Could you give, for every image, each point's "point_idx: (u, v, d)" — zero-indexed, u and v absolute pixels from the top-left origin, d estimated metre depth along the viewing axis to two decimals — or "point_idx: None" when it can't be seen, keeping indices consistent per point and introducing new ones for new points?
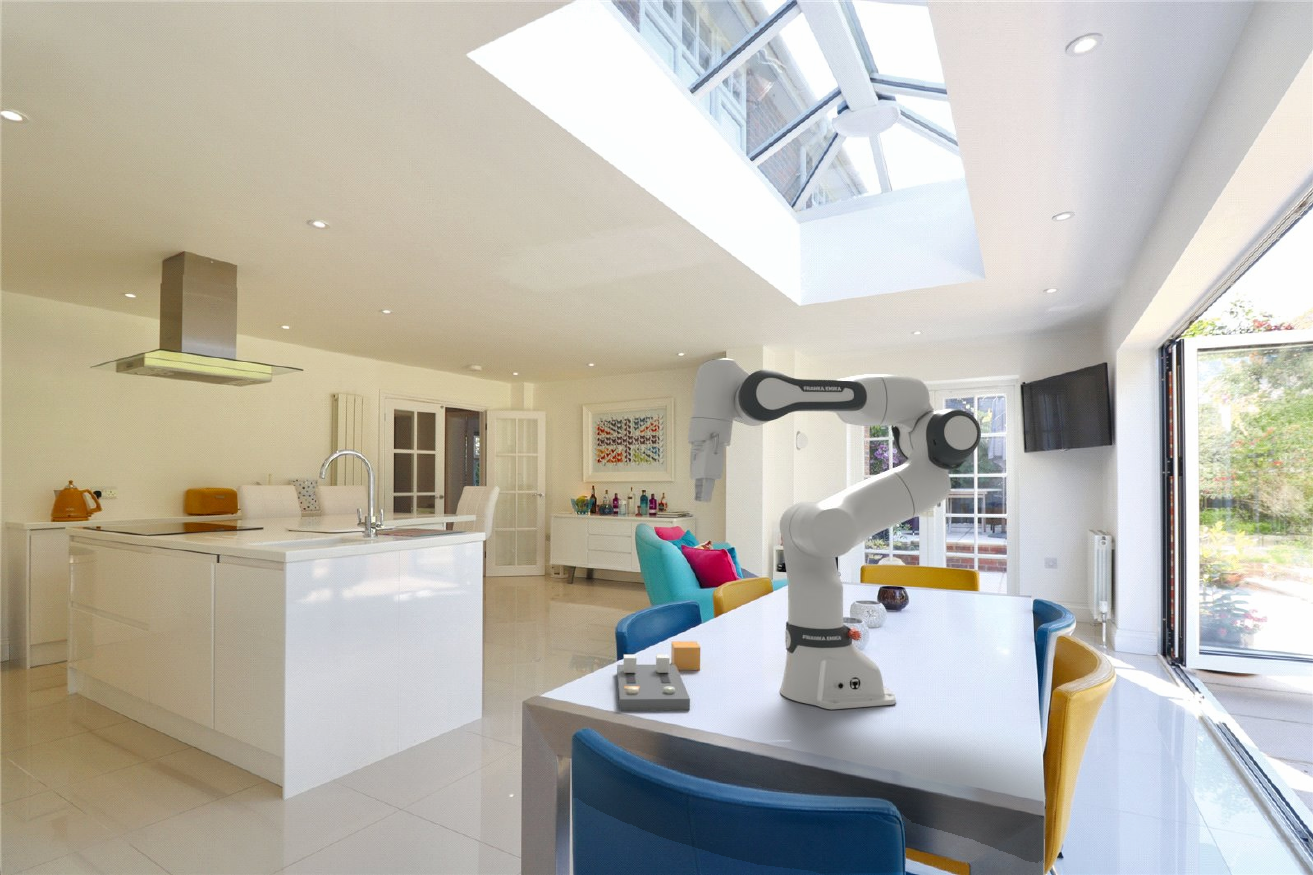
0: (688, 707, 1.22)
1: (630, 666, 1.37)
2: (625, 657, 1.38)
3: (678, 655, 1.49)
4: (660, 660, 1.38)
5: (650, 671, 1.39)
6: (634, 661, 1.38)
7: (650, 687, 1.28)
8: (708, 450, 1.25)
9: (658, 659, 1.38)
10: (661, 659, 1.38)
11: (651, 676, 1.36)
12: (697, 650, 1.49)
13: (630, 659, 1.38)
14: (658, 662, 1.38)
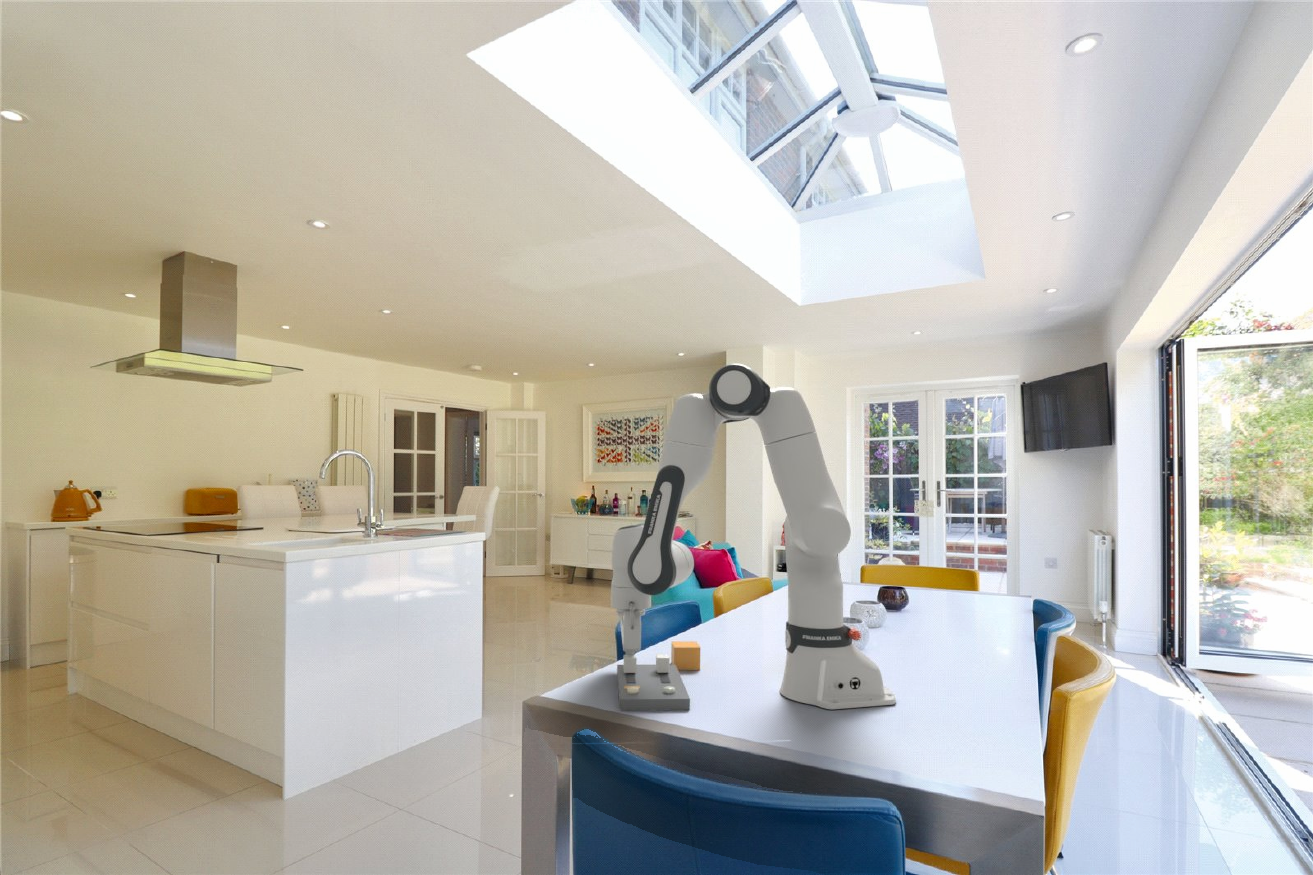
0: (688, 707, 1.22)
1: (630, 666, 1.37)
2: (625, 657, 1.38)
3: (678, 655, 1.49)
4: (660, 660, 1.38)
5: (650, 671, 1.39)
6: (634, 661, 1.37)
7: (650, 687, 1.28)
8: (625, 626, 1.33)
9: (658, 659, 1.38)
10: (661, 659, 1.38)
11: (651, 676, 1.36)
12: (697, 650, 1.49)
13: (630, 659, 1.37)
14: (658, 662, 1.38)
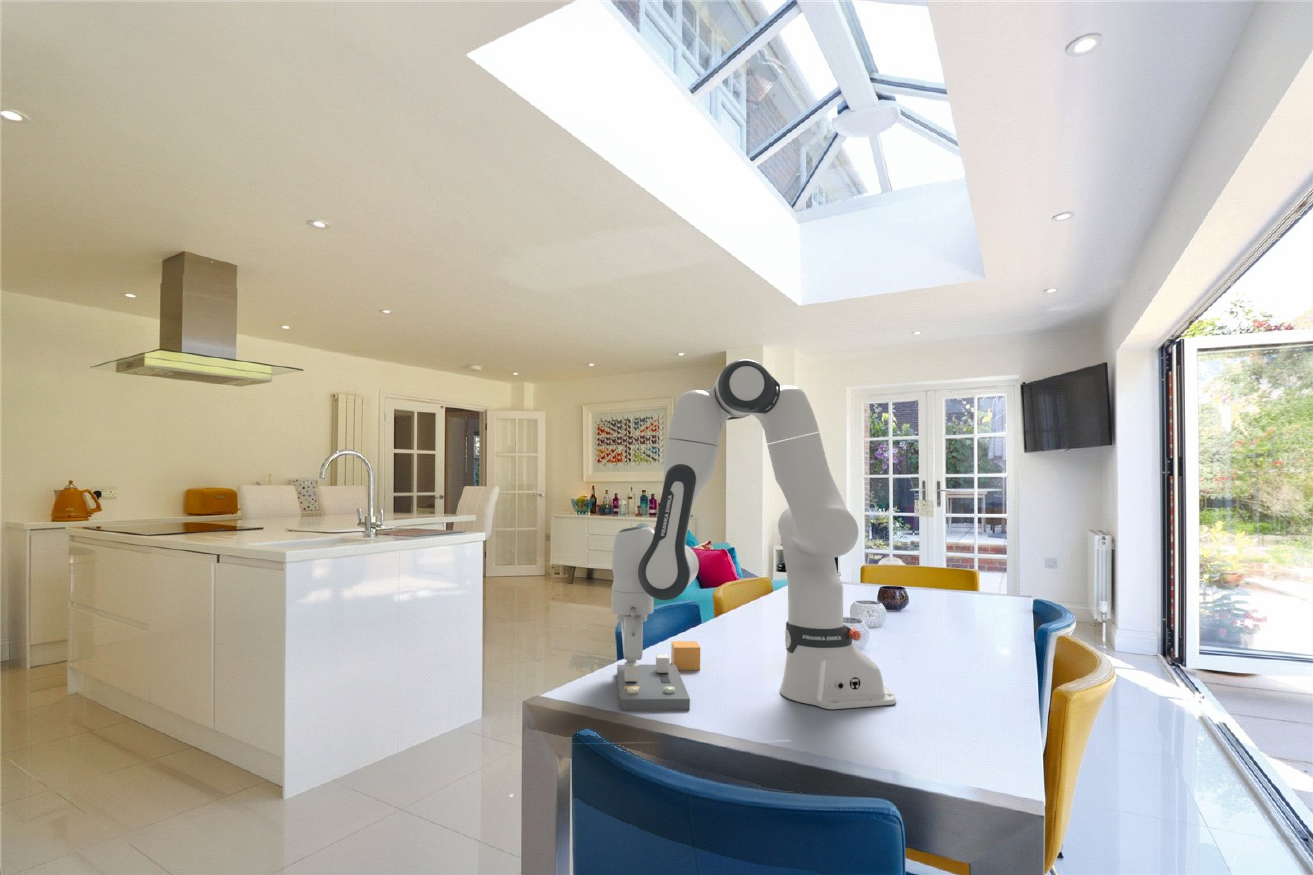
0: (688, 707, 1.22)
1: (632, 675, 1.31)
2: (626, 665, 1.32)
3: (678, 655, 1.49)
4: (660, 660, 1.38)
5: (650, 671, 1.39)
6: (636, 669, 1.31)
7: (650, 687, 1.28)
8: (626, 633, 1.27)
9: (658, 659, 1.38)
10: (661, 659, 1.38)
11: (651, 676, 1.36)
12: (697, 650, 1.49)
13: (631, 667, 1.31)
14: (658, 662, 1.38)
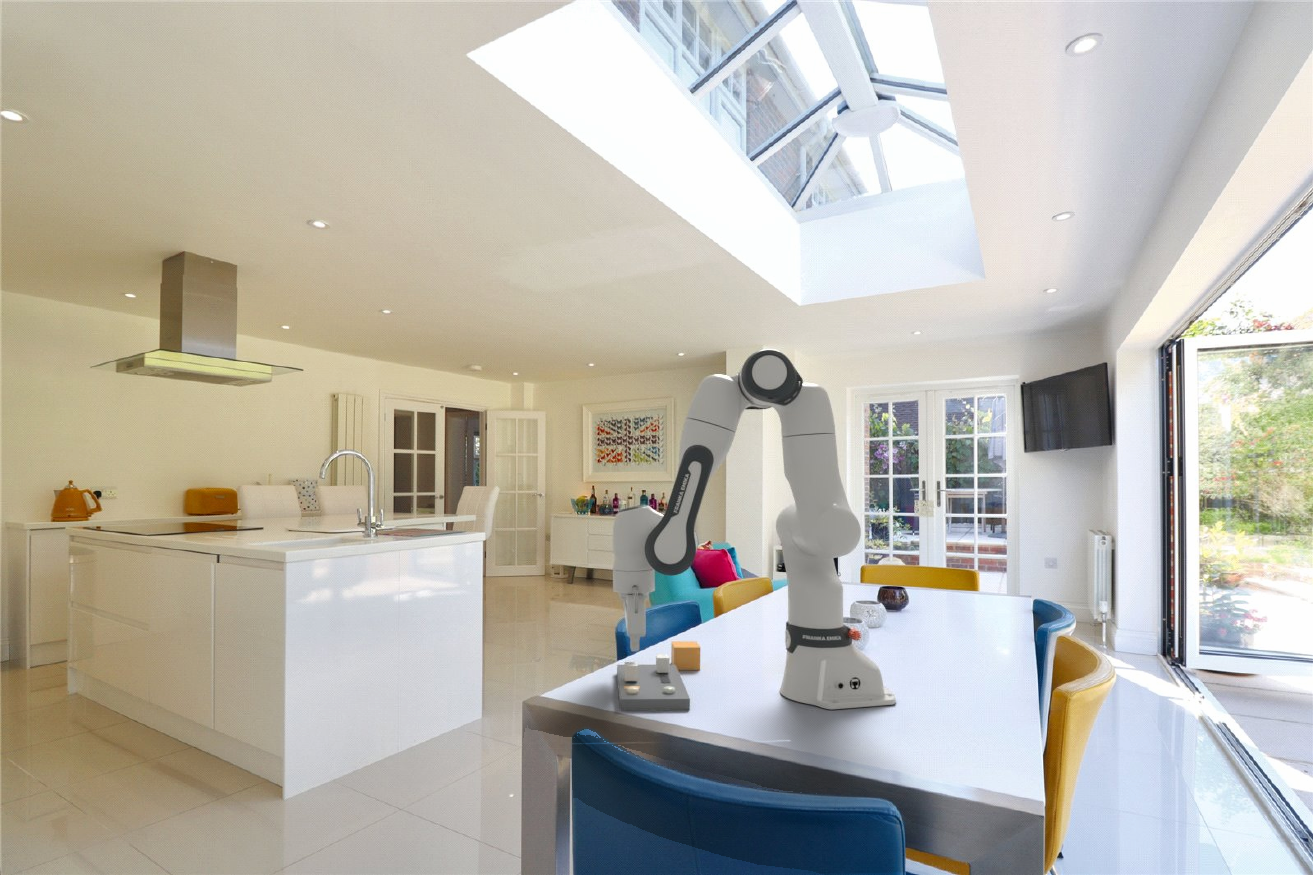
0: (688, 707, 1.22)
1: (632, 675, 1.31)
2: (626, 665, 1.32)
3: (678, 655, 1.49)
4: (660, 660, 1.38)
5: (650, 671, 1.39)
6: (635, 669, 1.32)
7: (650, 687, 1.28)
8: (628, 610, 1.28)
9: (658, 659, 1.38)
10: (661, 659, 1.38)
11: (651, 676, 1.36)
12: (697, 650, 1.49)
13: (631, 667, 1.31)
14: (658, 662, 1.38)
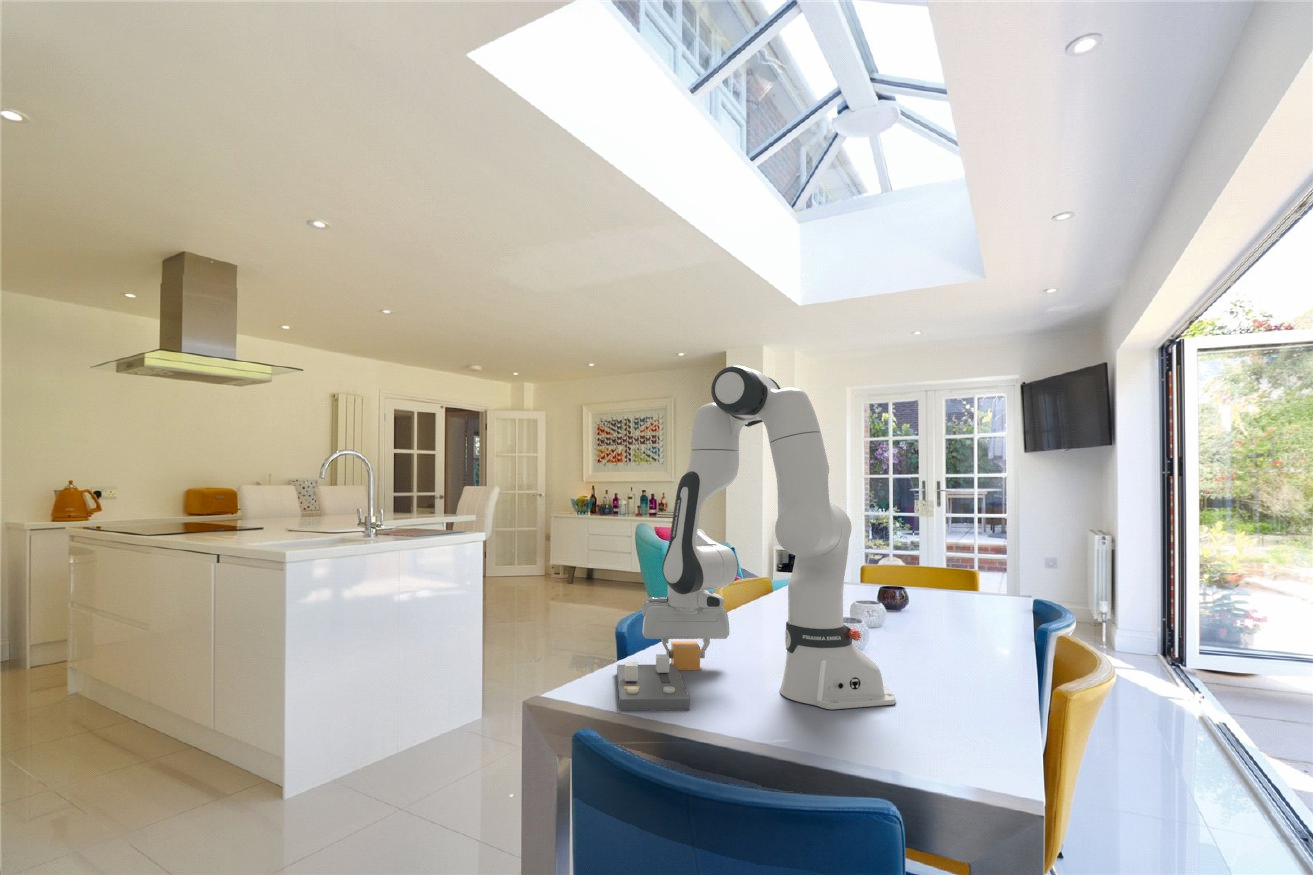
0: (688, 707, 1.22)
1: (632, 675, 1.31)
2: (626, 665, 1.32)
3: (678, 655, 1.49)
4: (660, 660, 1.38)
5: (650, 671, 1.39)
6: (635, 669, 1.32)
7: (650, 687, 1.28)
8: None
9: (658, 659, 1.38)
10: (661, 659, 1.38)
11: (651, 676, 1.36)
12: (697, 650, 1.49)
13: (631, 667, 1.31)
14: (658, 662, 1.38)
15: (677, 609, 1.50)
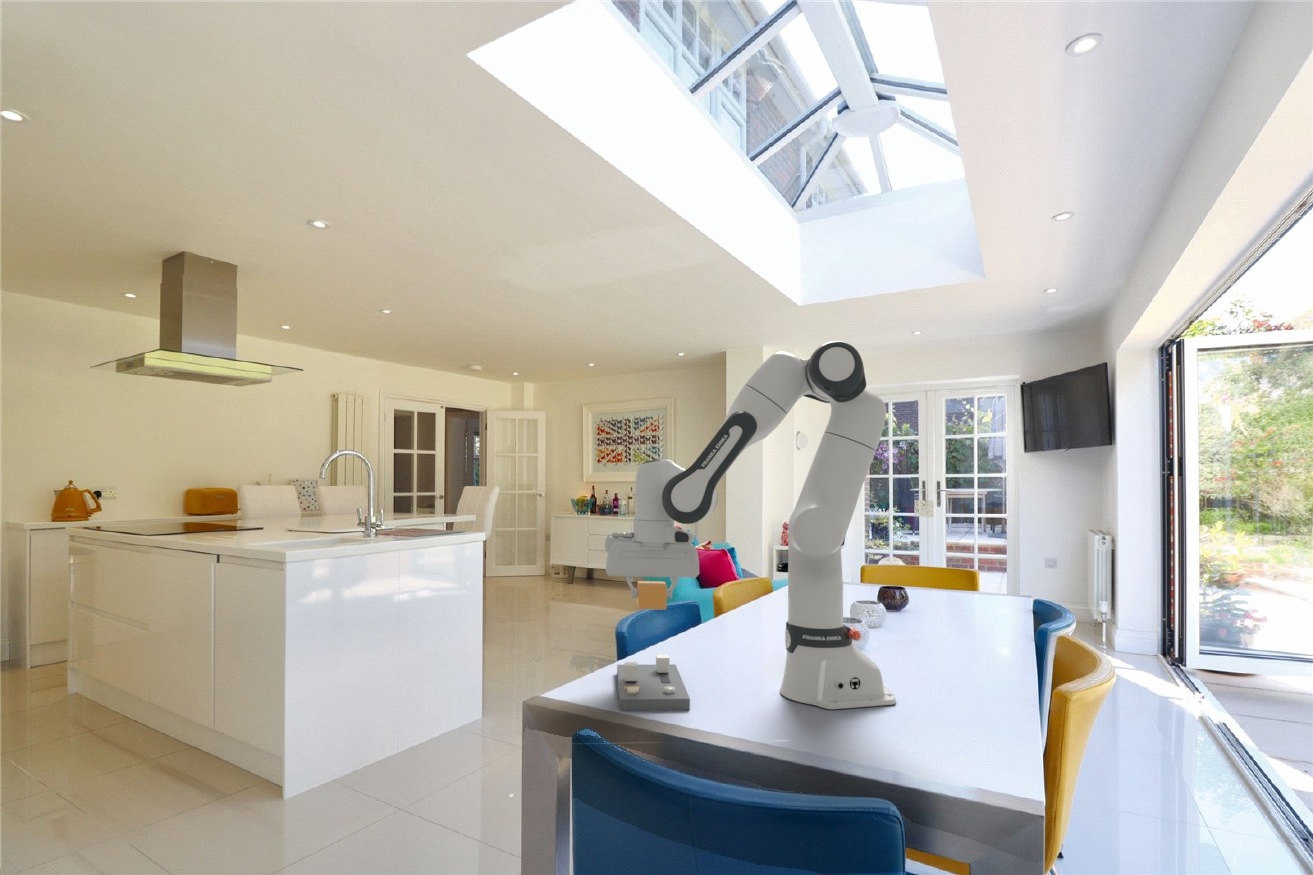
0: (688, 707, 1.22)
1: (632, 675, 1.31)
2: (626, 665, 1.32)
3: (643, 593, 1.38)
4: (660, 660, 1.38)
5: (650, 671, 1.39)
6: (635, 669, 1.32)
7: (650, 687, 1.28)
8: None
9: (658, 659, 1.38)
10: (661, 659, 1.38)
11: (651, 676, 1.36)
12: (663, 588, 1.38)
13: (631, 667, 1.31)
14: (658, 662, 1.38)
15: (643, 544, 1.40)
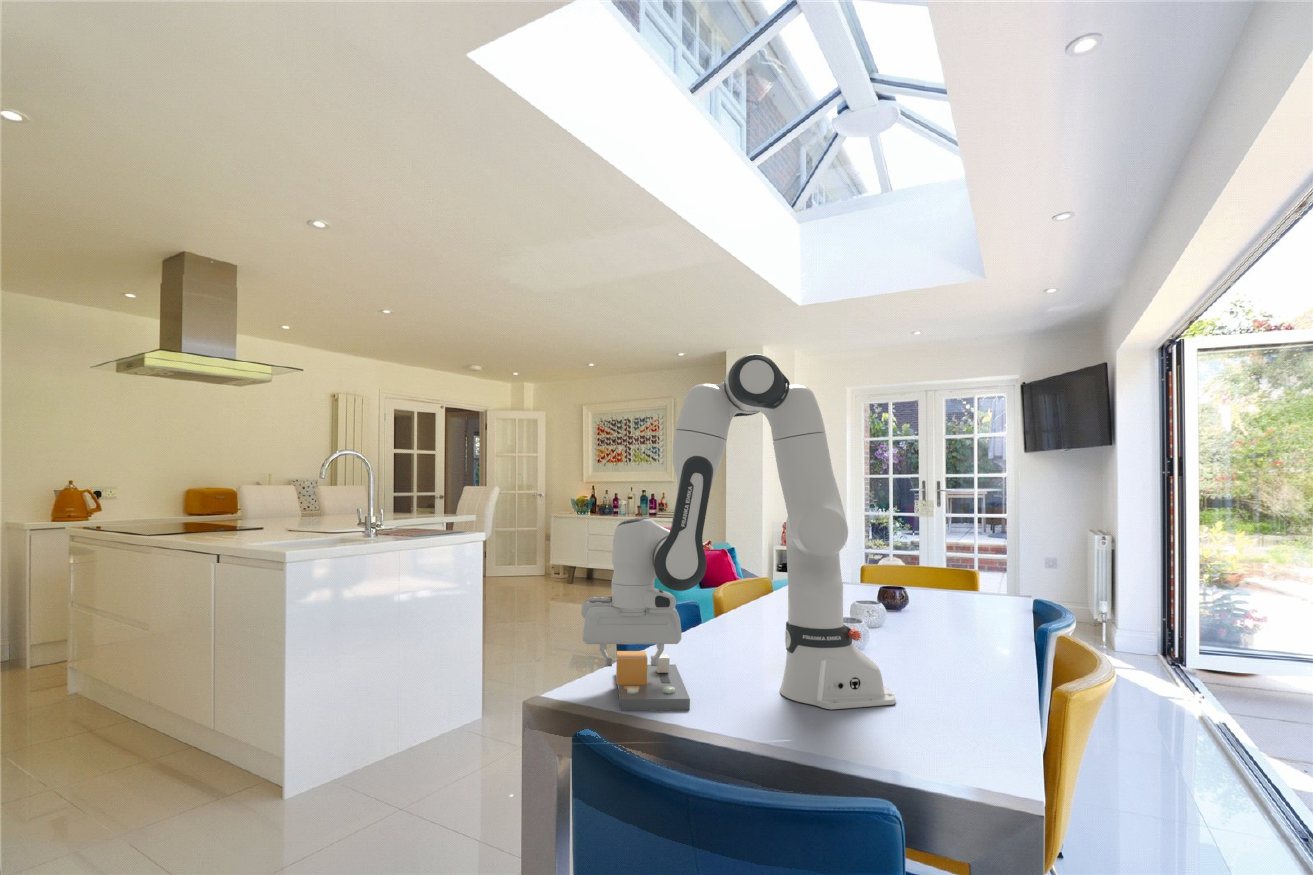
0: (688, 707, 1.22)
1: None
2: None
3: (622, 668, 1.30)
4: (660, 660, 1.38)
5: (650, 671, 1.39)
6: None
7: (650, 687, 1.28)
8: None
9: (658, 659, 1.38)
10: (661, 659, 1.38)
11: (651, 676, 1.36)
12: (644, 662, 1.30)
13: None
14: (658, 662, 1.38)
15: (621, 610, 1.32)
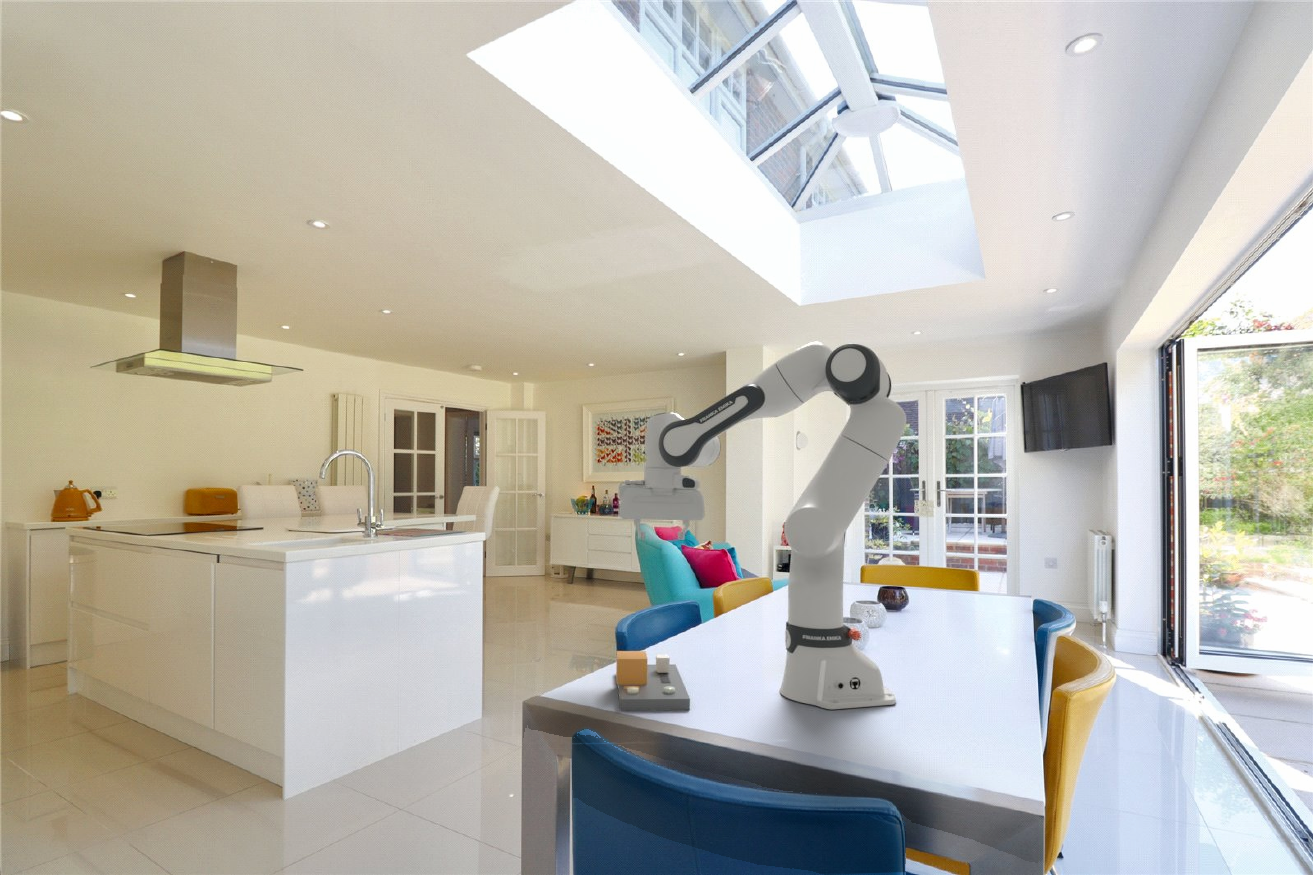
0: (688, 707, 1.22)
1: None
2: None
3: (622, 668, 1.30)
4: (660, 660, 1.38)
5: (650, 671, 1.39)
6: None
7: (650, 687, 1.28)
8: None
9: (658, 659, 1.38)
10: (661, 659, 1.38)
11: (651, 676, 1.36)
12: (644, 662, 1.30)
13: None
14: (658, 662, 1.38)
15: (653, 490, 1.53)
